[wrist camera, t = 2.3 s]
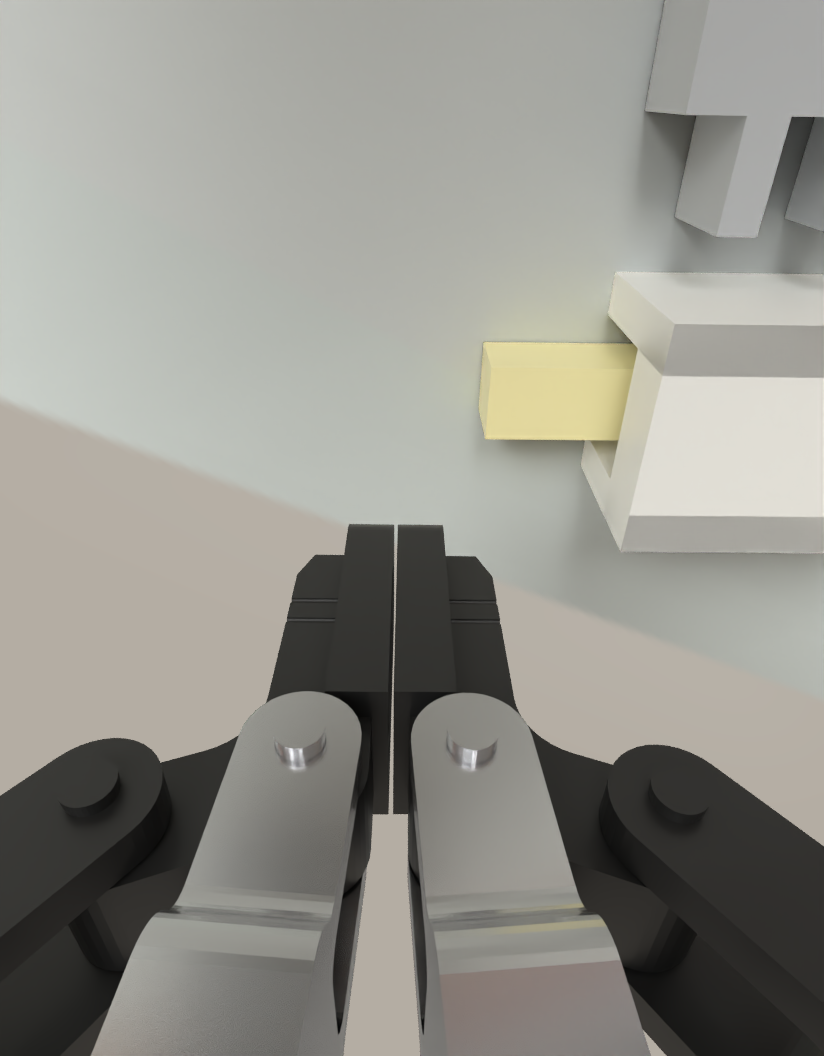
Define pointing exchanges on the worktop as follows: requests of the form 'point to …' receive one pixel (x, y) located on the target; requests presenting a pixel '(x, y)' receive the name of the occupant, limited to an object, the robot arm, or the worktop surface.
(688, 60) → the comb
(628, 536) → the sleeve
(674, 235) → the worktop surface
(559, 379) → the yellow block
